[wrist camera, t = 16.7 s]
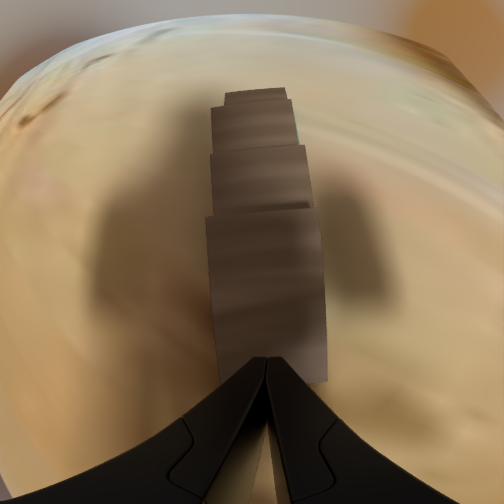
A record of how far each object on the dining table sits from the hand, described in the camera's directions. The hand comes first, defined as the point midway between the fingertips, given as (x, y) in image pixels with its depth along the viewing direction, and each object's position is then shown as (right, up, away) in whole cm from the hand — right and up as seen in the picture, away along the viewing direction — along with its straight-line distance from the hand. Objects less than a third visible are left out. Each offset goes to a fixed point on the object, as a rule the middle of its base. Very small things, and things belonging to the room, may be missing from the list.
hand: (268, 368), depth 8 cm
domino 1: (+1, -3, +5) cm, 6 cm away
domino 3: (0, +5, +9) cm, 10 cm away
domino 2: (+1, +1, +7) cm, 7 cm away
